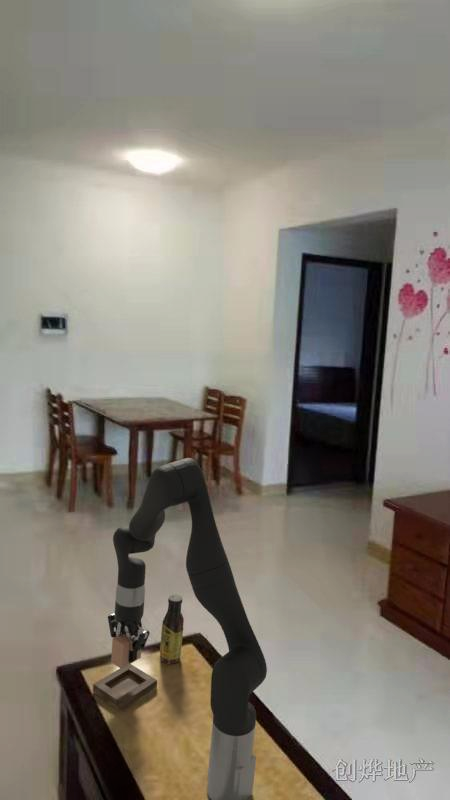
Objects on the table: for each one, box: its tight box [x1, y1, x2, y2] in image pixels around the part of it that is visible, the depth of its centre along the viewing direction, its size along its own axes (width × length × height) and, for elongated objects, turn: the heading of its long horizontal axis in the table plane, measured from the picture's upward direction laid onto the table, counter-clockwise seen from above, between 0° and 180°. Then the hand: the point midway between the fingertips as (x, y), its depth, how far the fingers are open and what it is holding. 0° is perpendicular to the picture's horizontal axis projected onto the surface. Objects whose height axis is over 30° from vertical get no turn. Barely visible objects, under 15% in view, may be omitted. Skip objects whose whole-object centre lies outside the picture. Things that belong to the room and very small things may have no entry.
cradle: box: [92, 663, 158, 713], centre depth 164 cm, size 11×13×2 cm
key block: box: [110, 634, 142, 669], centre depth 162 cm, size 7×4×7 cm, turn 143°
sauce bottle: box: [159, 593, 185, 665], centre depth 178 cm, size 7×6×20 cm
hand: (126, 657), depth 162 cm, fingers closed on key block, 4 cm apart
